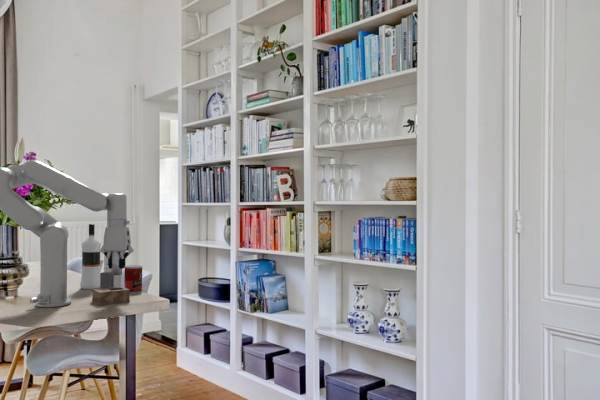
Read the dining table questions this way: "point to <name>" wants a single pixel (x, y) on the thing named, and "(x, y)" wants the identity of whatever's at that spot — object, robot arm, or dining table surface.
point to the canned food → (133, 277)
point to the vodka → (91, 261)
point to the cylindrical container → (106, 269)
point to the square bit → (106, 280)
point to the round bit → (116, 263)
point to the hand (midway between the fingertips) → (116, 267)
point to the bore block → (110, 295)
